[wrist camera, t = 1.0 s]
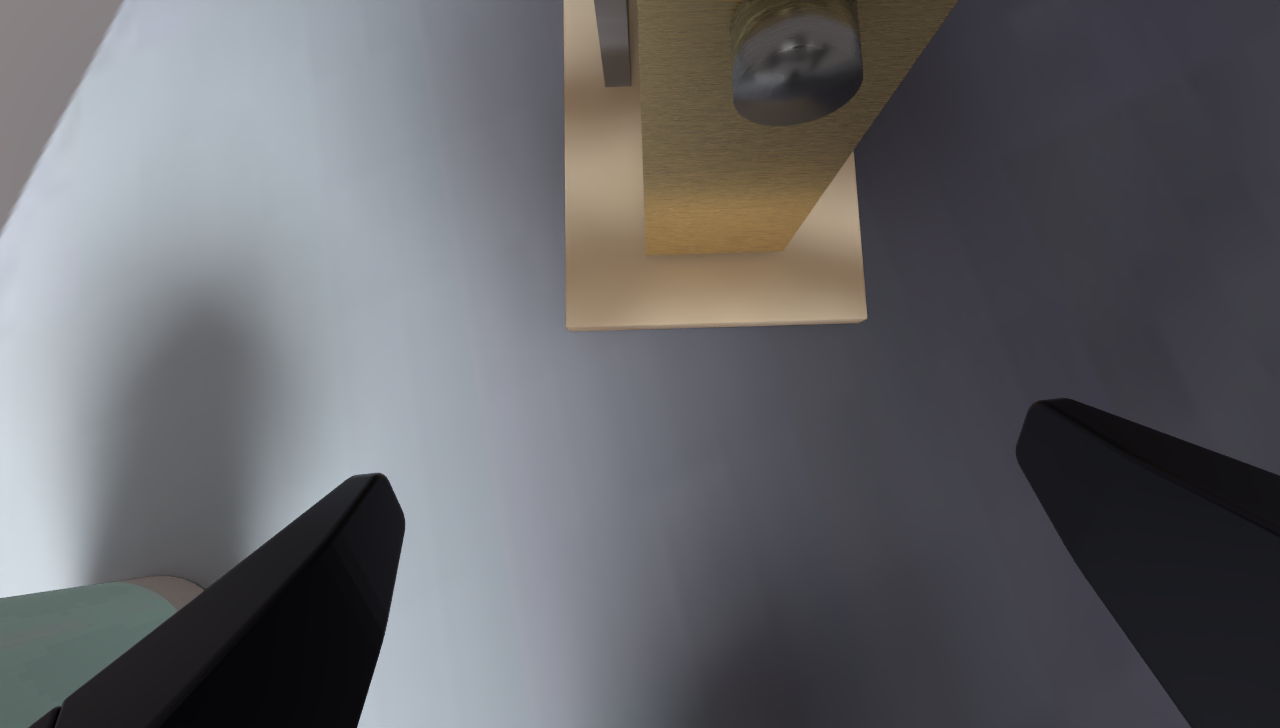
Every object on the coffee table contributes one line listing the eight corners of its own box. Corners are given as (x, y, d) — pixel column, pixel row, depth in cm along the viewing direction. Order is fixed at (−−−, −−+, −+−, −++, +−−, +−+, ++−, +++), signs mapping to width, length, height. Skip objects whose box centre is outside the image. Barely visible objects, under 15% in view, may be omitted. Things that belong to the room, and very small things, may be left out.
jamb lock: (859, 323, 21) (1012, 237, 12) (569, 331, 21) (509, 252, 12) (828, -64, 23) (938, -378, 14) (566, -53, 23) (513, -356, 14)
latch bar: (785, 283, 20) (1084, -68, 6) (646, 287, 20) (634, -49, 6) (775, 123, 21) (1018, -503, 7) (642, 128, 21) (623, -481, 7)
